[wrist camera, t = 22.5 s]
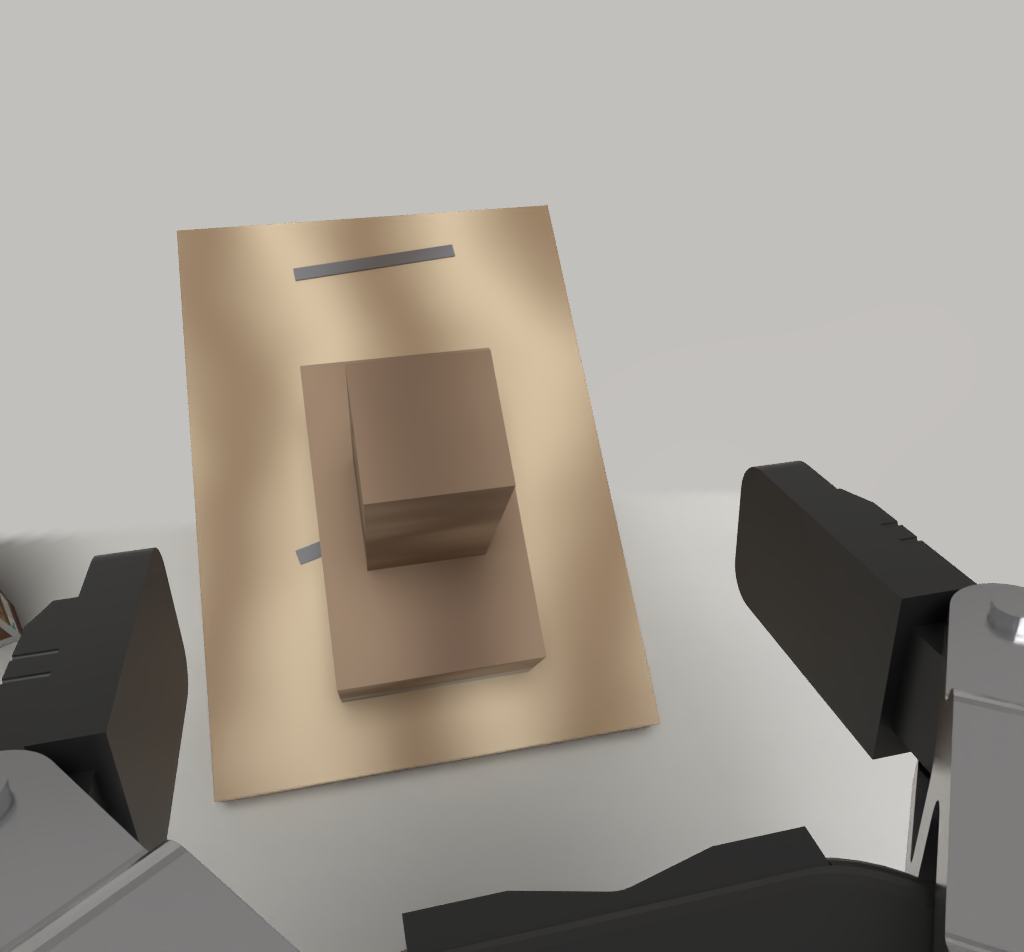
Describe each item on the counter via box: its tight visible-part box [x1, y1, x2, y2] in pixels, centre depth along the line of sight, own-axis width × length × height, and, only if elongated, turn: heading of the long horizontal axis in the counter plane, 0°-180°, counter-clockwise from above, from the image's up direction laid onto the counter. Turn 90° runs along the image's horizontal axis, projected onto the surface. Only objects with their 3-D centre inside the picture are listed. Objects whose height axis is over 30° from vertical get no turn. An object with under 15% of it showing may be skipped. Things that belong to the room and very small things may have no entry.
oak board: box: [177, 205, 660, 802], centre depth 32 cm, size 14×20×2 cm
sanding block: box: [300, 348, 546, 702], centre depth 26 cm, size 6×10×10 cm, turn 10°
